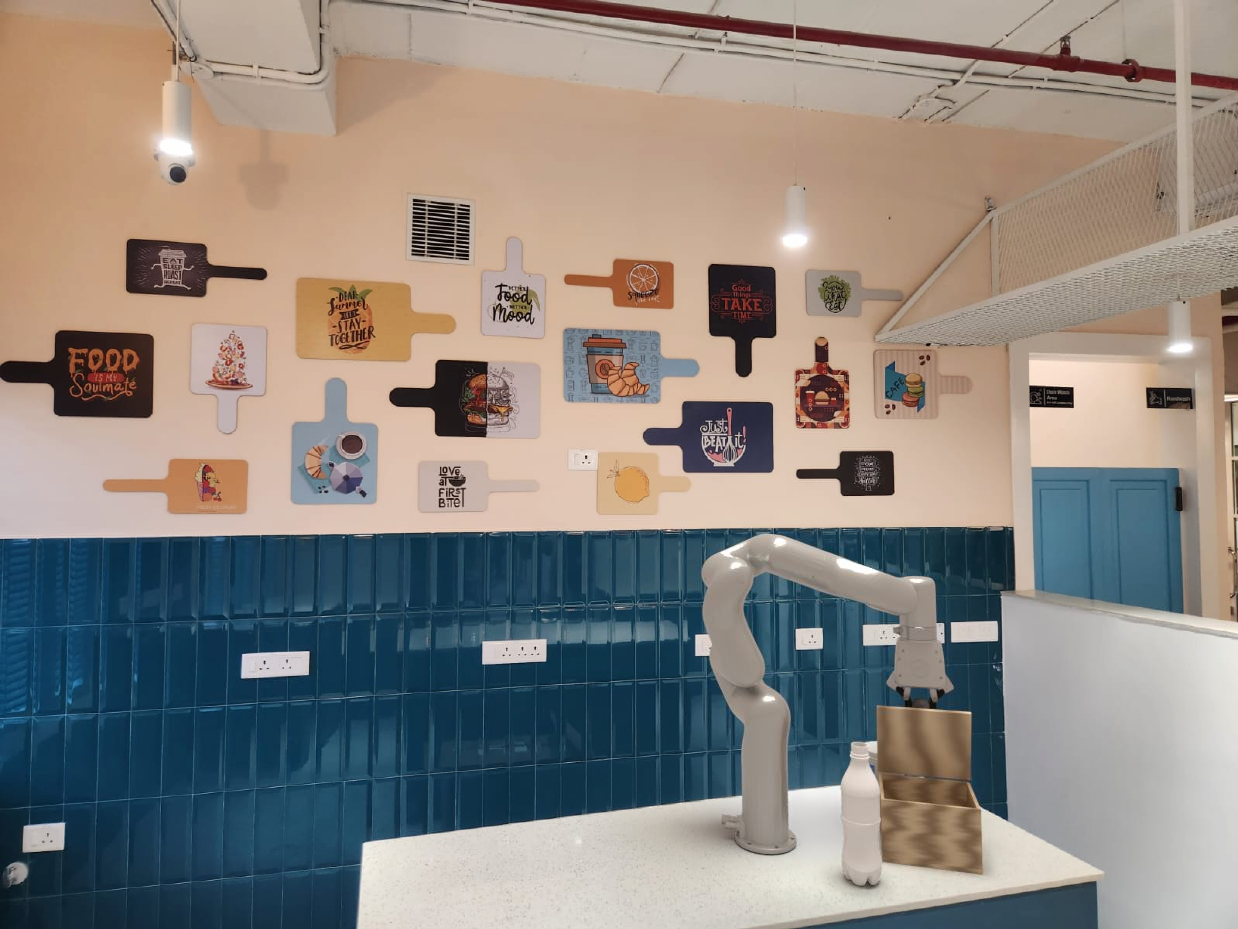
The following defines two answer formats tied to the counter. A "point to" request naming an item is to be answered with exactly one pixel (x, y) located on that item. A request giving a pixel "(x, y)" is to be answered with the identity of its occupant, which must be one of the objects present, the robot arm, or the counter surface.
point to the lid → (924, 741)
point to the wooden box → (930, 823)
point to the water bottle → (860, 819)
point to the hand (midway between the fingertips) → (920, 717)
